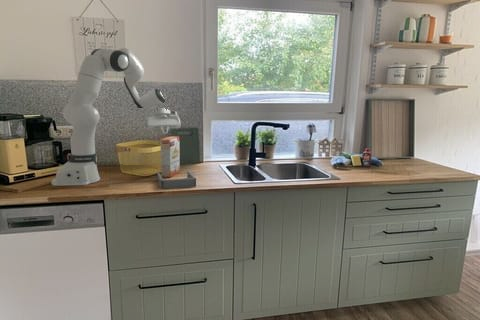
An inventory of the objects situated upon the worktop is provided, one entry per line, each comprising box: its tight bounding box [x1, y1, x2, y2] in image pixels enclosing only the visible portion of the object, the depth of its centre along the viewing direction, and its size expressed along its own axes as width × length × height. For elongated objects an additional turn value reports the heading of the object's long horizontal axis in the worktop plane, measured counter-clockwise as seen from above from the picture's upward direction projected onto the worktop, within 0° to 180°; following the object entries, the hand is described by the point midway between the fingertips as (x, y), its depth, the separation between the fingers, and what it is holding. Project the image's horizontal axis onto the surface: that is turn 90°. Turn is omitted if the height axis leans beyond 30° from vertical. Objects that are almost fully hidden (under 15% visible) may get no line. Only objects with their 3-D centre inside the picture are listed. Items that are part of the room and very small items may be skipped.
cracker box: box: [160, 135, 181, 178], centre depth 191 cm, size 14×6×21 cm, turn 168°
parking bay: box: [156, 170, 197, 190], centre depth 176 cm, size 17×17×4 cm
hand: (165, 133), depth 208 cm, fingers closed
